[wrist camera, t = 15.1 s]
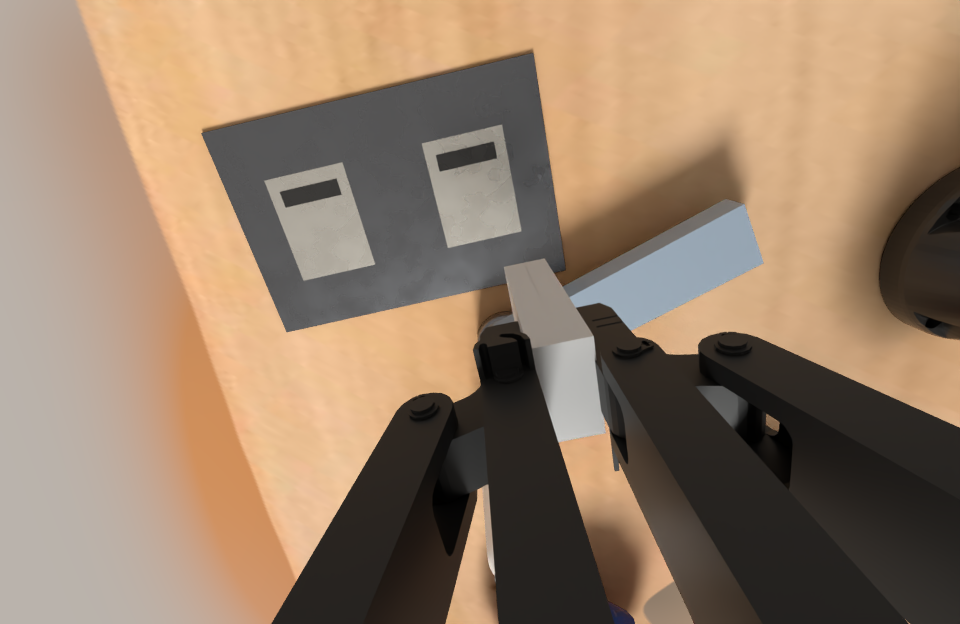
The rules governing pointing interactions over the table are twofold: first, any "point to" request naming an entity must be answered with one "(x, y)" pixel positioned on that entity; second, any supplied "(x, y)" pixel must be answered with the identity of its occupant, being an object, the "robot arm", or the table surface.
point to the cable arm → (671, 266)
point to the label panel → (395, 193)
